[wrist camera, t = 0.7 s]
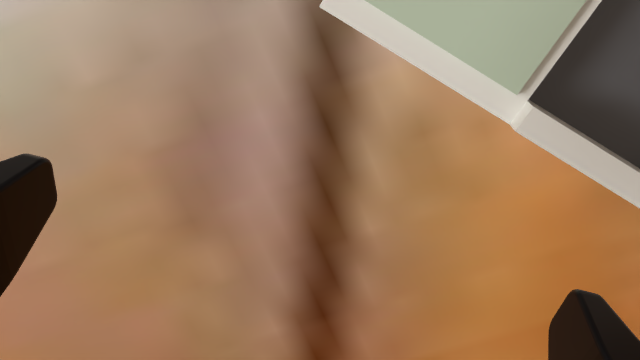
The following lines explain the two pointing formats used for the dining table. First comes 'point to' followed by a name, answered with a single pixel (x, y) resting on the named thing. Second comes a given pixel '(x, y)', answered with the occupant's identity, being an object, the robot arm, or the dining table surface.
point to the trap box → (530, 69)
